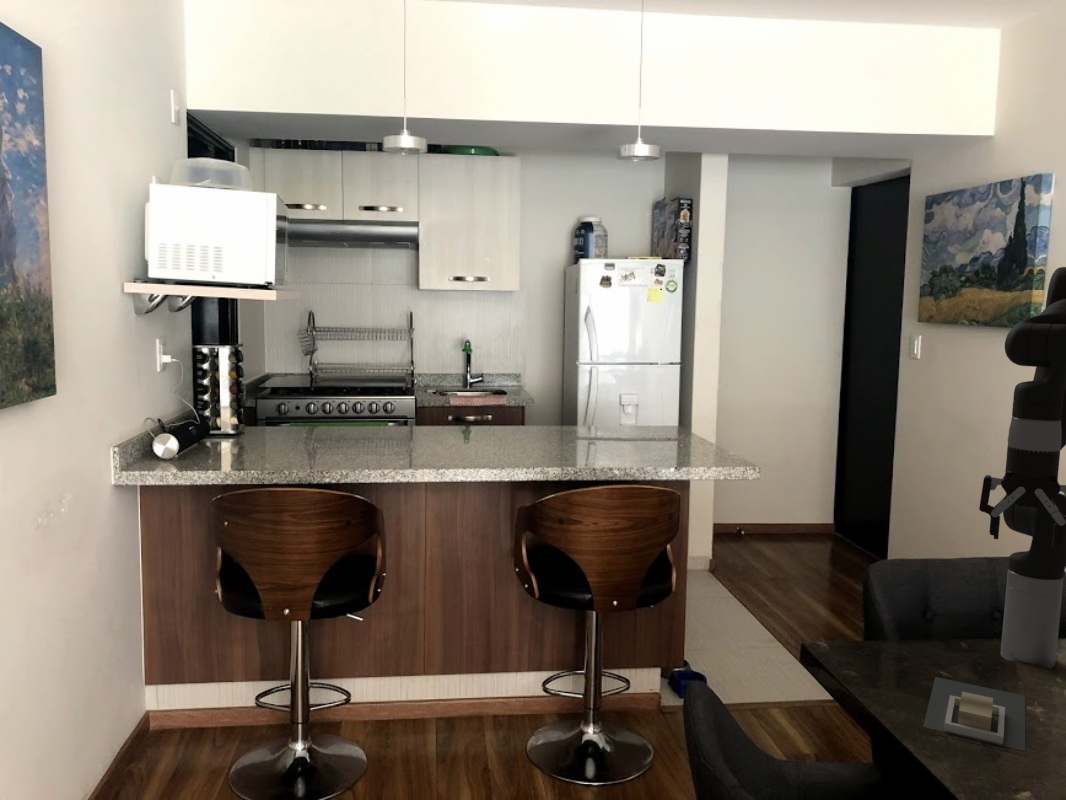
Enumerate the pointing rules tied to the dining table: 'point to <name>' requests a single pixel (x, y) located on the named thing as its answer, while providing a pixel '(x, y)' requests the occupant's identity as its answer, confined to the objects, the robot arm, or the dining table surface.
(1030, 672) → the dining table surface
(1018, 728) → the mat
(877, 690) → the dining table surface
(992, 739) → the slot frame
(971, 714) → the tan rectangular block
